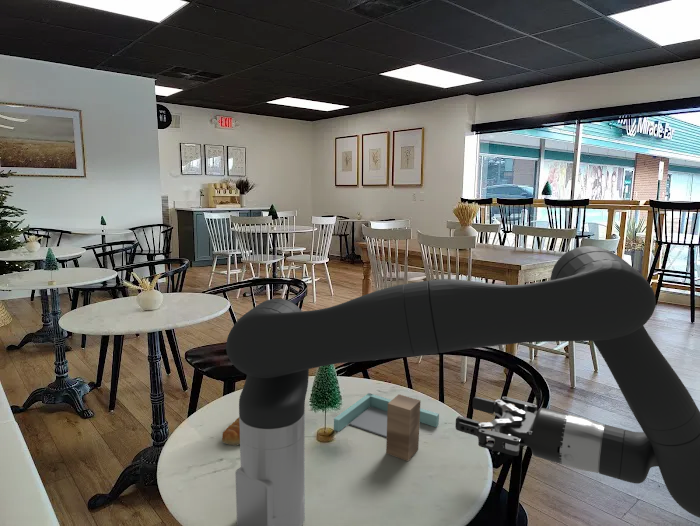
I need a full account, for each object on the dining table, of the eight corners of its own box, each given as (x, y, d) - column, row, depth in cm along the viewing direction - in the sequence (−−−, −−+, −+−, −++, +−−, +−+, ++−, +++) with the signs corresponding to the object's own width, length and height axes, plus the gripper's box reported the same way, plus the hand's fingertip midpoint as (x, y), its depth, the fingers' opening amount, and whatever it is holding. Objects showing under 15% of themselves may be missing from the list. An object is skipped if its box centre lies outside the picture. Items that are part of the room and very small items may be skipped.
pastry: (235, 453, 87) (235, 434, 86) (214, 440, 91) (213, 422, 90) (273, 432, 94) (273, 415, 93) (251, 421, 98) (251, 404, 98)
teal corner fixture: (409, 457, 86) (410, 444, 86) (333, 429, 95) (333, 418, 95) (438, 424, 98) (439, 413, 97) (368, 403, 107) (368, 393, 106)
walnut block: (408, 461, 85) (410, 410, 83) (386, 453, 87) (387, 403, 85) (418, 449, 89) (420, 400, 87) (397, 442, 91) (398, 394, 89)
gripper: (576, 398, 77) (478, 376, 85) (562, 438, 65) (450, 408, 73) (572, 440, 78) (476, 415, 87) (558, 487, 66) (449, 452, 75)
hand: (465, 412), depth 80 cm, fingers open, 8 cm apart
